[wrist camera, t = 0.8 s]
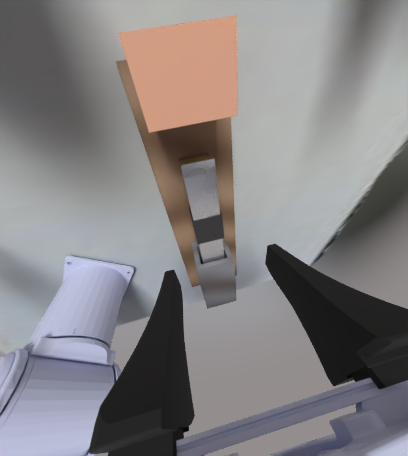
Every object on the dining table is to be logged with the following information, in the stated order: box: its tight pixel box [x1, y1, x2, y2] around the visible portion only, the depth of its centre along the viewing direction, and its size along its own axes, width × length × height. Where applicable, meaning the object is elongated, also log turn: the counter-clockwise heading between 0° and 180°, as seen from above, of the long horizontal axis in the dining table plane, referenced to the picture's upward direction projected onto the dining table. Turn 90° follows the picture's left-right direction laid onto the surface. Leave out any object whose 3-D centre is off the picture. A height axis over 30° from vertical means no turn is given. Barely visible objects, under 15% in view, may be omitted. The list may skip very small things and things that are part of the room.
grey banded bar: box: [179, 152, 225, 264], centre depth 19 cm, size 19×3×3 cm, turn 9°
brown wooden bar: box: [116, 60, 237, 308], centre depth 18 cm, size 28×8×5 cm, turn 9°
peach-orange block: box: [118, 16, 238, 133], centre depth 10 cm, size 4×5×5 cm
